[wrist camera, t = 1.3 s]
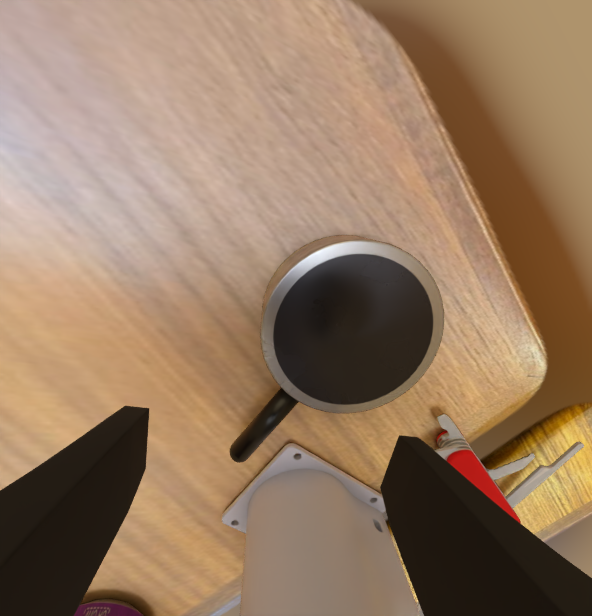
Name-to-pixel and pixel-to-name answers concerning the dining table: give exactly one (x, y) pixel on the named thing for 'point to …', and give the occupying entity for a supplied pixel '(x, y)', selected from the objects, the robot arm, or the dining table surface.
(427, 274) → the pan
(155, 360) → the dining table surface
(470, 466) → the swiss army knife
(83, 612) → the beverage can
